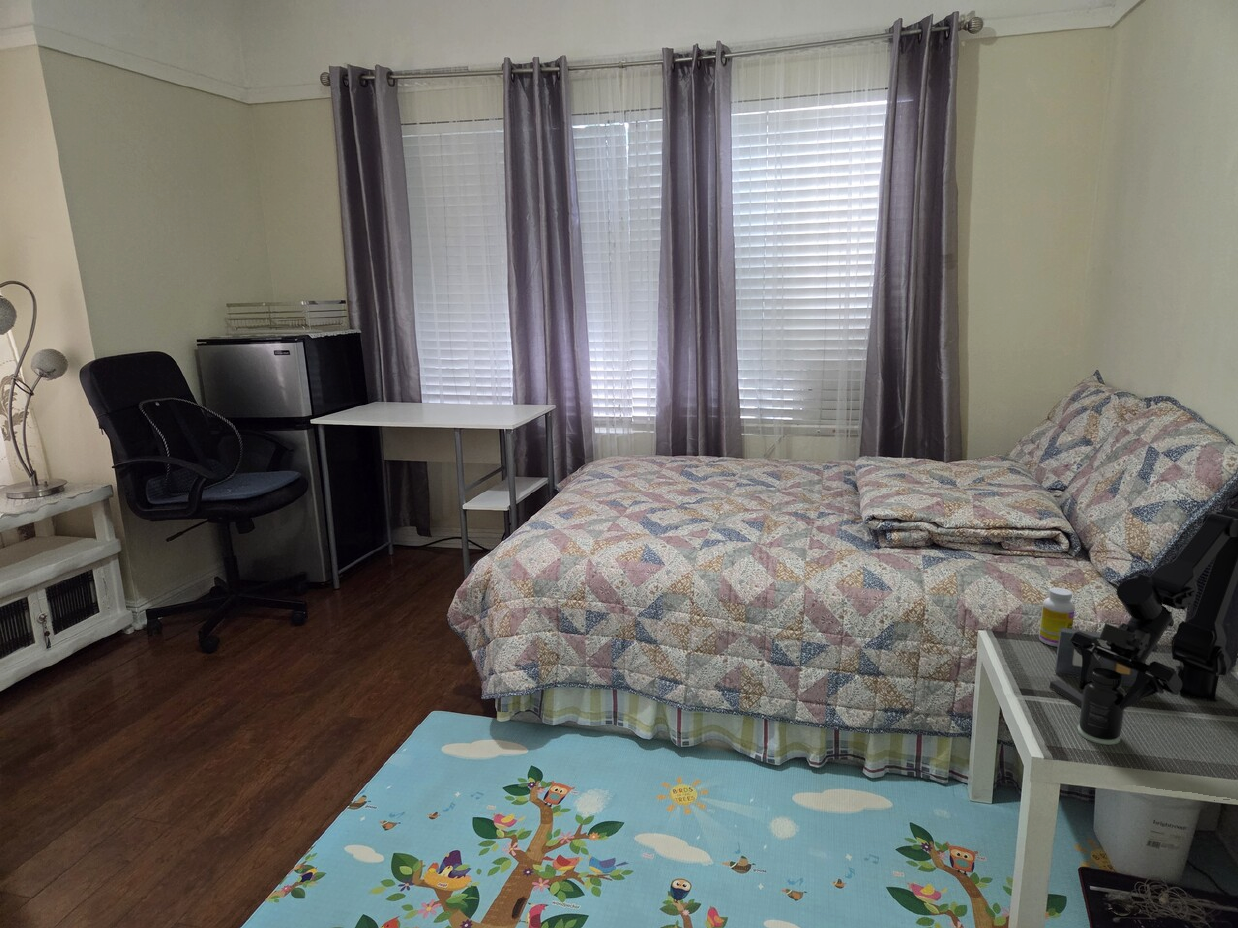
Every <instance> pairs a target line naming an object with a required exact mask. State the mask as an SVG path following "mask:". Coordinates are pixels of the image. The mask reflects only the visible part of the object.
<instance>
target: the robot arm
mask: <svg viewBox="0 0 1238 928" xmlns="http://www.w3.org/2000/svg"><path fill="white" fill-rule="evenodd" d="M1201 523H1202V524H1201V526H1200V527H1199V528H1198V530H1197V531H1196V532H1195V533H1194V534H1193V536H1192V537H1191V539H1189V541H1188V542H1187V543H1186V545H1185V546H1184V547H1183V548H1182V550H1181V551H1180V552H1179V553H1178V555H1177V556H1176V557H1175V559H1173V561H1171V562H1169V563H1166V564H1163V565H1160V566H1159V567H1157V568H1156V569H1155V570H1154V571H1153V572H1152V573H1151V575H1149V576H1148V575H1145V574H1143V573H1142V574H1141V573H1139V574H1138V576H1137V578H1136V577H1135V578H1129V579H1127V580H1124V581H1123V582H1121V583H1120V584H1119V585H1118V586H1117V588H1116V595H1117V598H1118V600H1119V602H1120V603H1121V604H1122V606H1123V607H1124V609H1125V610H1126V612H1127V614H1128V615H1129V616H1130V618H1129V620H1128V621H1127V623H1122V624H1120V625H1119V627H1117V626H1114V625H1111V624H1108V623H1106V622H1105V623H1104V626H1103V628H1102V630H1101V635H1100V638H1099V639H1101V640H1104V641H1107V642H1106V644H1107V645H1108V646H1109V647H1111V649H1107V648H1105V647H1102V646H1101V645H1100V643H1099V642H1098V640H1097V639H1096V638H1095V637H1093V636H1090V635H1087V634H1085V633H1082V632H1080V631H1079V632H1076V633H1074V634H1073V635H1072V636H1071V638H1070V639H1069V642H1070V643H1071V644H1072V646H1073V647H1074V649H1075V650H1076V651H1077V653H1078V654H1080V655H1081V656H1082V670H1081V676H1080V678H1079V683H1078V689H1079V690H1080V691H1083V690H1084V686H1085V684H1086V683H1087V682H1089V681H1091V676H1092V670H1093V669H1094V668H1101V664H1100V663H1099V662H1098V660H1099V659H1100V658H1101V657H1103V658H1105V659H1108V660H1110V661H1112V662H1115V663H1117V664H1120V665H1122V666H1124V667H1127V668H1129V669H1132V670H1134V671H1137V672H1138V673H1137V677H1136V680H1135V682H1134V684H1133V685H1132V686H1131V687H1130V688H1129V689H1128V691H1127V692H1126V693H1125V694H1126V695H1125V696H1124V698H1123V699H1122V701H1121V703H1120V705H1119V707H1120V708H1121V709H1124V710H1125V709H1126V708H1128V707H1130V706H1132V705H1134V704H1135V703H1137V702H1139V701H1141V700H1143V699H1145V698H1147V697H1150V696H1152V695H1154V694H1161V695H1163V694H1164V693H1165V692H1168V693H1169V694H1171V695H1174V696H1178V695H1180V696H1182V697H1187V698H1193V699H1198V700H1204V701H1205V700H1206V701H1210V702H1216V703H1217V702H1218V701H1219V699H1218V697H1217V696H1216V694H1217V690H1218V683H1219V679H1220V676H1227V675H1228V672H1229V669H1231V664H1232V660H1231V658H1230V656H1229V654H1228V651H1227V650H1226V644H1227V641H1228V640H1227V636H1226V632H1225V630H1224V627H1223V623H1224V620H1225V617H1226V615H1227V611H1228V609H1229V607H1230V603H1231V600H1232V598H1233V595H1234V592H1235V589H1236V586H1237V583H1238V509H1235V508H1232V507H1227V508H1225V509H1224V510H1223V511H1214V510H1213V511H1211V512H1210V513H1207V514H1205V516H1204V517H1203V519H1202V522H1201ZM1212 561H1213V562H1212ZM1210 563H1211V564H1212V565H1211V567H1210V570H1209V573H1208V575H1207V579H1206V581H1205V584H1204V586H1203V590H1202V592H1201V595H1200V598H1199V601H1198V604H1197V606H1196V607H1197V608H1196V610H1195V612H1194V615H1193V616H1191V617H1190V618H1189V619H1188V620H1186V621H1185V620H1182V621H1181V622H1180V623H1179V624H1178V627H1177V630H1176V633H1175V634H1174V635H1173V636H1172V639H1171V654H1172V655H1171V656H1172V657H1171V658H1172V660H1174V661H1178V662H1179V665H1176V666H1175V668H1173V667H1170V666H1168V665H1165V664H1163V663H1161V662H1159V661H1155V660H1153V661H1151V662H1150V663H1149V665H1148V664H1146V663H1145V661H1146V662H1147V660H1148V658H1149V657H1150V655H1151V654H1152V653H1153V652H1154V653H1156V652H1157V651H1158V649H1159V647H1158V645H1157V644H1158V642H1159V641H1160V639H1161V637H1162V636H1163V634H1164V633H1165V632H1166V630H1167V628H1168V627H1171V628H1172V627H1174V624H1175V622H1174V621H1175V620H1174V619H1173V612H1172V611H1170V610H1168V608H1167V607H1169V608H1173V609H1175V610H1186V609H1187V608H1189V607H1190V606H1192V605H1193V603H1194V602H1195V600H1197V599H1196V595H1197V593H1198V592H1199V588H1198V580H1199V579H1200V577H1201V575H1202V574H1203V573H1204V571H1206V570H1205V569H1206V568H1207V567H1208V566H1209V565H1210ZM1165 606H1166V607H1165ZM1115 657H1116V658H1115Z"/></svg>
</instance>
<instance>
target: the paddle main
mask: <svg viewBox="0 0 1238 928" xmlns="http://www.w3.org/2000/svg"><path fill="white" fill-rule="evenodd" d="M1115 670H1116V671H1117V672H1118V673H1123V674H1129V675H1130V669H1129V668H1127V667H1124V666H1122V665H1120V664H1117V663H1116V668H1115Z"/></svg>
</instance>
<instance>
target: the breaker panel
mask: <svg viewBox="0 0 1238 928" xmlns="http://www.w3.org/2000/svg"><path fill="white" fill-rule="evenodd" d="M1079 631H1080V632H1082V633H1085V634H1087V635H1090V636H1093V637H1095V638H1096V639H1097V640H1098V642H1099V643H1100V645H1101V646H1102V647H1105V648H1107V649H1111V647H1109V646H1108V645H1107V644H1106V642H1107V641H1104V640H1101V639H1099V638H1100V635H1101V633H1102V632H1101V633H1100V632H1093V631H1087V630H1080V629H1073V628H1072V629H1068V628H1061V627H1060V634H1059V641H1058V647H1057V650H1056V657H1055V658H1056V659H1055V665H1054V673H1056V674H1055V675H1058V676H1059V675H1060V676H1064V677H1069V676H1071V678H1075V677H1078V678H1077V679H1080V676H1081V670H1082V667H1080V666H1074V665H1073V663H1072V662H1073V654H1074V647H1073V646H1072V644H1071V643H1070V642H1069V639H1070V638H1071V636H1072V635H1073V634H1074V633H1076V632H1079ZM1115 658H1116V657H1115ZM1098 662H1099V663H1100V664H1101V668H1107V669H1111V670H1114V671H1116V670H1115V668H1116V663H1115V662H1112V661H1110V660H1108V659H1105V658H1103V657H1101V658H1100V659H1099V660H1098ZM1146 662H1147V660H1146V661H1145V663H1146ZM1137 673H1138V672H1137V671H1134V670H1132V669H1130V675H1129V674H1123V673H1120V674H1121V676H1122V680H1121V686H1122V685H1124V686H1125V687H1130V688H1131V686H1132V685H1133V684H1134V682H1135V680H1136V677H1137ZM1124 686H1123V687H1124Z"/></svg>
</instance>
